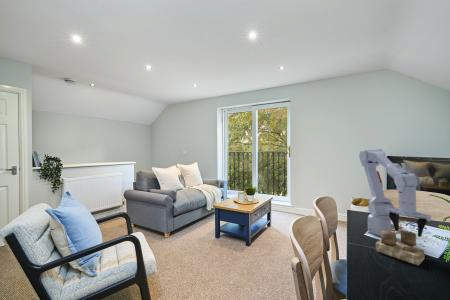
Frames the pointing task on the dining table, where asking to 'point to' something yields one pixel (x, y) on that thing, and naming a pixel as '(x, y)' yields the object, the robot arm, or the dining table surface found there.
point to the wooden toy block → (398, 249)
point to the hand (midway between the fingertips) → (408, 233)
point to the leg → (408, 238)
